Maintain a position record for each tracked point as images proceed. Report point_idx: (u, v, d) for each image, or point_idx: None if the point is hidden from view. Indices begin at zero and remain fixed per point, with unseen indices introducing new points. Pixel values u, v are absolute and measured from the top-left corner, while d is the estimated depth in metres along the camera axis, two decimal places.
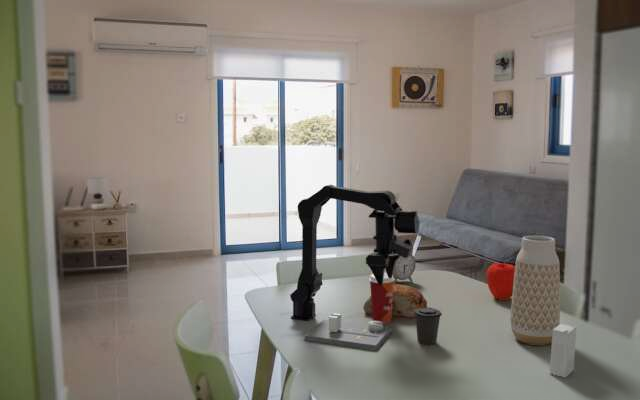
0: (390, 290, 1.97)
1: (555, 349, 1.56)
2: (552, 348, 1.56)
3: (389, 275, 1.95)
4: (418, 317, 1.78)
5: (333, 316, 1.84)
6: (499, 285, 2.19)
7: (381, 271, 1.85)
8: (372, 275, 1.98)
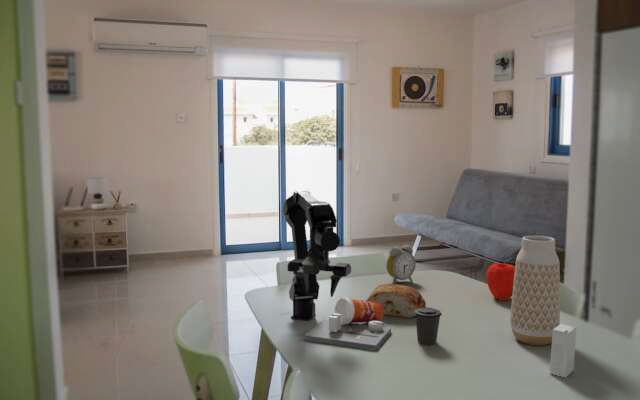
0: (360, 312, 1.90)
1: (555, 349, 1.56)
2: (552, 348, 1.56)
3: None
4: (418, 317, 1.78)
5: (333, 316, 1.84)
6: (499, 285, 2.19)
7: None
8: None
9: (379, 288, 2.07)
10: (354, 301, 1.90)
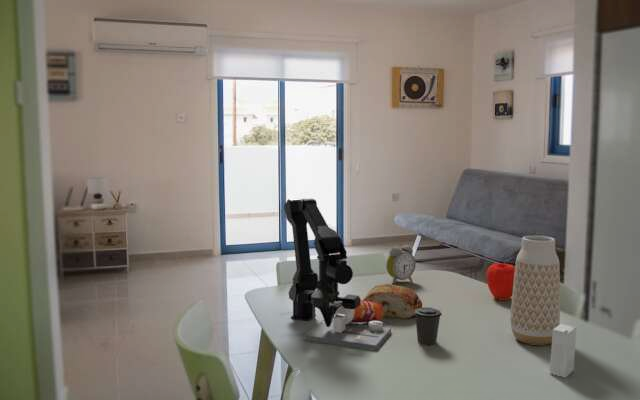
0: (360, 312, 1.90)
1: (555, 349, 1.56)
2: (552, 348, 1.56)
3: None
4: (418, 317, 1.78)
5: (338, 317, 1.84)
6: (499, 285, 2.19)
7: None
8: None
9: (375, 289, 2.06)
10: None
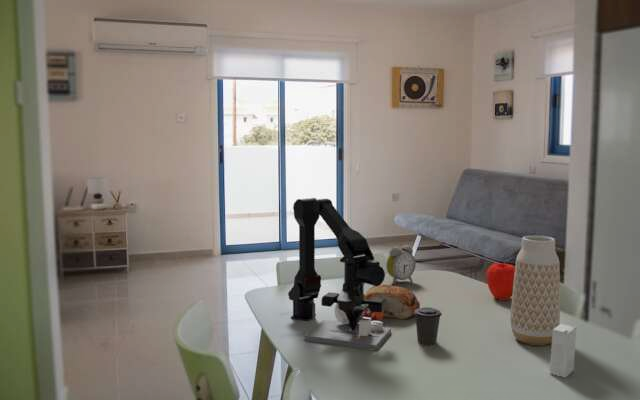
0: None
1: (555, 349, 1.56)
2: (552, 348, 1.56)
3: None
4: (418, 317, 1.78)
5: (363, 320, 1.81)
6: (499, 285, 2.19)
7: None
8: (337, 316, 1.91)
9: (372, 289, 2.06)
10: None
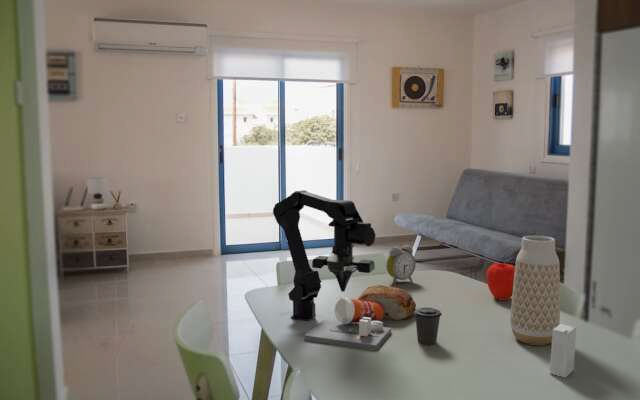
0: (360, 312, 1.90)
1: (555, 349, 1.56)
2: (552, 348, 1.56)
3: None
4: (418, 317, 1.78)
5: (363, 320, 1.81)
6: (499, 285, 2.19)
7: None
8: (337, 316, 1.91)
9: (368, 290, 2.05)
10: (354, 301, 1.90)
